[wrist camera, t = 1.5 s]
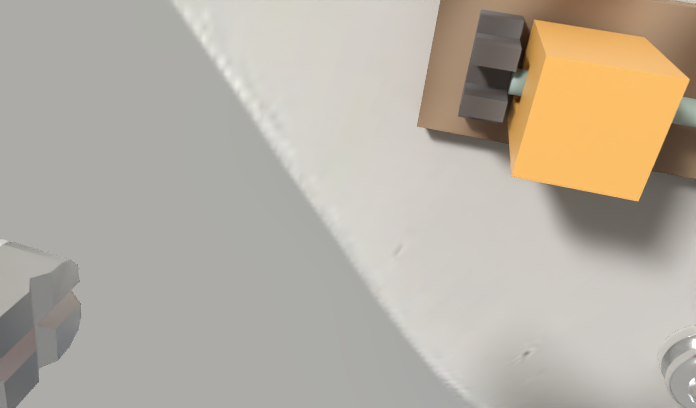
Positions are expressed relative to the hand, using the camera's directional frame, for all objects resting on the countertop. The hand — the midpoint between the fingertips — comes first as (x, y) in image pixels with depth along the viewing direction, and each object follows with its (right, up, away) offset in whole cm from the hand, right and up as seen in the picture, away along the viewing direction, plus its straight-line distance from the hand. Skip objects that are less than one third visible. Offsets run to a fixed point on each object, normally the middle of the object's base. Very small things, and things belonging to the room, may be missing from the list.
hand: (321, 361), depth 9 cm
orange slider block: (+11, +8, +19) cm, 24 cm away
